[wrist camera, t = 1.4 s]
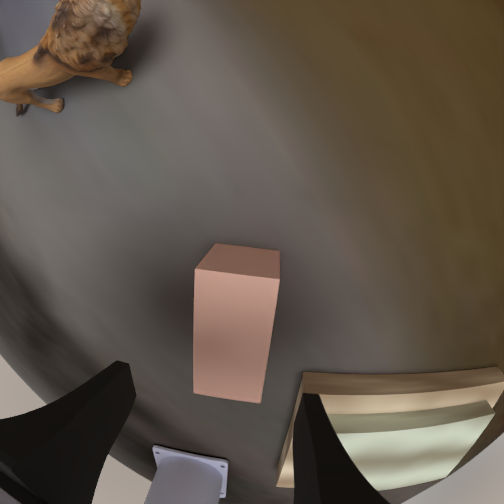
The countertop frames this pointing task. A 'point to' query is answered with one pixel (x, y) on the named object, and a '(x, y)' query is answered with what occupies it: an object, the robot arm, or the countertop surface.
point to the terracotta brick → (234, 320)
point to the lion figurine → (71, 51)
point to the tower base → (390, 397)
